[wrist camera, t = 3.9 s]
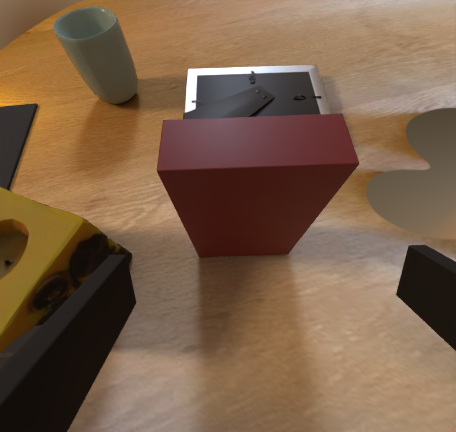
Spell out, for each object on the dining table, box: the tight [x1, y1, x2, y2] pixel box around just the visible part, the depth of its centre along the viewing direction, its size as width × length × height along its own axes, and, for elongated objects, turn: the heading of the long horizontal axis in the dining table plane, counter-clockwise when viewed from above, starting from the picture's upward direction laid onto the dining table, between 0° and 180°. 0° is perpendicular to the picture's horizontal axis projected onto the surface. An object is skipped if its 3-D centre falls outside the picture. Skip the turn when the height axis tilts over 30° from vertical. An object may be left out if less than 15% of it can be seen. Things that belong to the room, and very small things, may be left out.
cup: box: [54, 6, 138, 104], centre depth 33 cm, size 8×8×10 cm
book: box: [157, 114, 359, 257], centre depth 19 cm, size 10×4×16 cm, turn 92°
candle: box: [0, 187, 132, 354], centre depth 20 cm, size 10×10×10 cm
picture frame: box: [183, 65, 332, 119], centre depth 34 cm, size 16×3×21 cm
